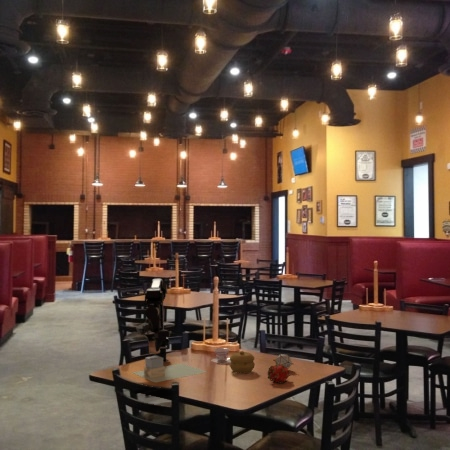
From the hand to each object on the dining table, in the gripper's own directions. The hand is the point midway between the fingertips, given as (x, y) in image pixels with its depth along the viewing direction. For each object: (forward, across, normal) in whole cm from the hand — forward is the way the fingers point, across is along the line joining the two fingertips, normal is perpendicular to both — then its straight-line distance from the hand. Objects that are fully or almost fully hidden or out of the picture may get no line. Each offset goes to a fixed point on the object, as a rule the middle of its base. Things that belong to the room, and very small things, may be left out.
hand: (154, 350), depth 241 cm
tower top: (+7, 0, 0) cm, 7 cm away
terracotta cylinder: (+1, 0, 0) cm, 1 cm away
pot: (+12, +21, +35) cm, 42 cm away
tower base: (+11, 0, 0) cm, 11 cm away
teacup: (+12, -2, +41) cm, 42 cm away
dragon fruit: (+12, +44, +37) cm, 59 cm away
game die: (+12, +31, +52) cm, 62 cm away
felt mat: (+12, 0, +8) cm, 14 cm away
